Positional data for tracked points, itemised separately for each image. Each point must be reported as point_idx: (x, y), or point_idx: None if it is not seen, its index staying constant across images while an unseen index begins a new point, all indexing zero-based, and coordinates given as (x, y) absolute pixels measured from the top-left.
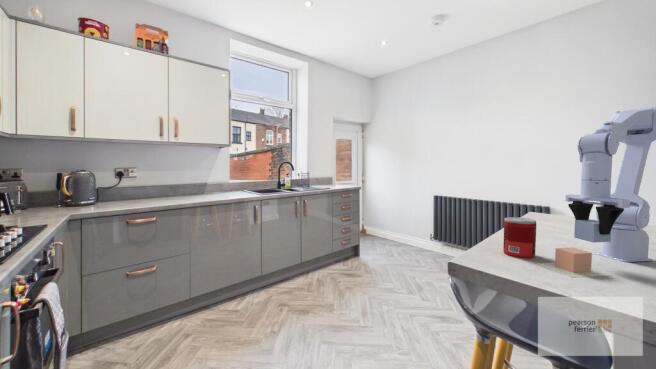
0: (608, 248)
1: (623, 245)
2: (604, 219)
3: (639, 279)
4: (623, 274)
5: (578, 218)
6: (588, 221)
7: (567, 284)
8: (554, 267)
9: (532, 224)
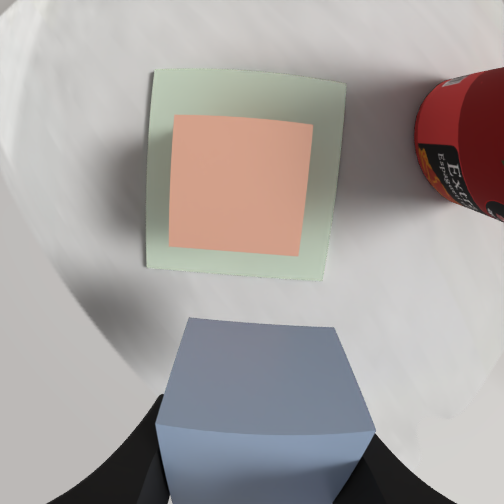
0: None
1: None
2: (90, 478)
3: (116, 321)
4: (162, 326)
5: (369, 468)
6: (273, 469)
7: (120, 10)
8: (277, 108)
9: None
